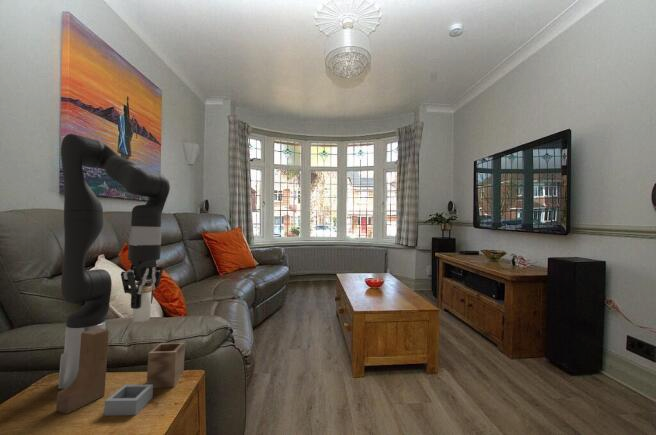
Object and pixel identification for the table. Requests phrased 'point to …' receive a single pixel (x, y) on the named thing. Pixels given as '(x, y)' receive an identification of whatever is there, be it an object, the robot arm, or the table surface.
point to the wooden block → (87, 372)
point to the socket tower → (165, 364)
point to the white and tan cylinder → (143, 305)
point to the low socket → (128, 400)
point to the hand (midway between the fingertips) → (141, 305)
